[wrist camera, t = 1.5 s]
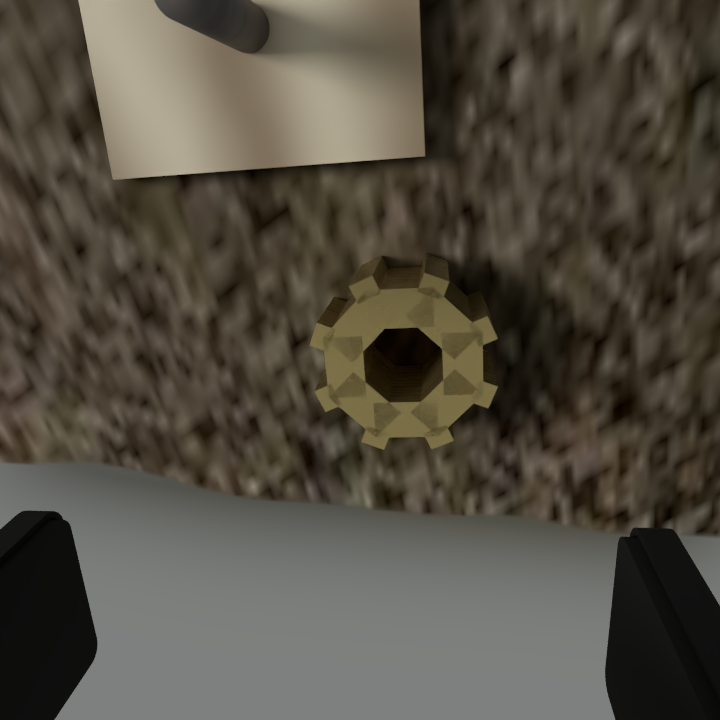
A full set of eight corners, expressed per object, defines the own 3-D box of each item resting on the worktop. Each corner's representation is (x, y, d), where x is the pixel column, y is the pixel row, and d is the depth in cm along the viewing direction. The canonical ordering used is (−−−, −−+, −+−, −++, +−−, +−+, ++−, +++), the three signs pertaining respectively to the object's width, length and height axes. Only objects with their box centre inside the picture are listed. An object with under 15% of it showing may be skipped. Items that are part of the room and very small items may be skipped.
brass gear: (488, 249, 24) (497, 269, 21) (489, 405, 27) (498, 448, 23) (322, 258, 25) (302, 278, 22) (336, 408, 27) (320, 450, 24)
